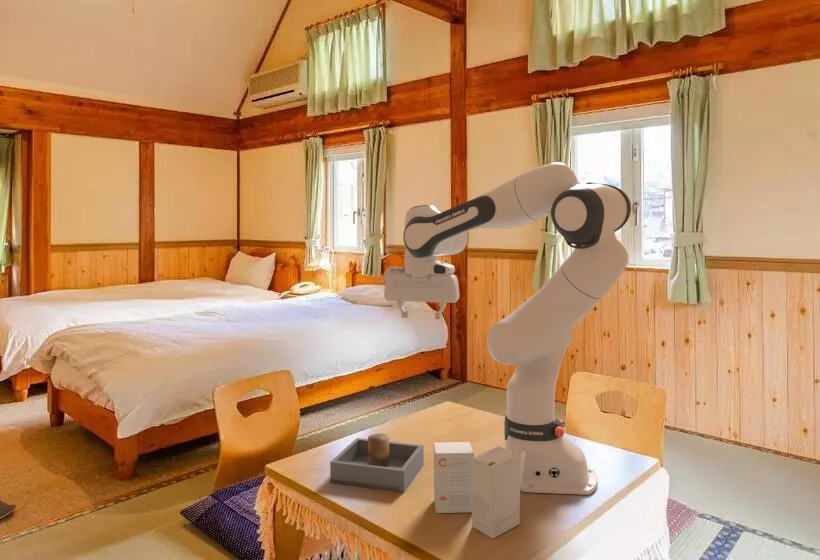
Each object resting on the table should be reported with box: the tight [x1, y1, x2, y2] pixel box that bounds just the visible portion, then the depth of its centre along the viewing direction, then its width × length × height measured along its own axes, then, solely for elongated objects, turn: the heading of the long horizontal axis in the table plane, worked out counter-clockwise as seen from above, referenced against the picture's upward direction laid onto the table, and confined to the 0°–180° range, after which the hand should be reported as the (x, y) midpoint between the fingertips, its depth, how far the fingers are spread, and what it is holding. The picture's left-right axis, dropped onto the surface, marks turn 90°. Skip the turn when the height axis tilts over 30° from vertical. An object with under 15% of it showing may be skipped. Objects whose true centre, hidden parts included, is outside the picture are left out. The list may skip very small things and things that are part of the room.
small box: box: [433, 441, 475, 514], centre depth 122 cm, size 8×6×13 cm
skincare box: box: [471, 446, 521, 539], centre depth 114 cm, size 8×6×15 cm
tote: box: [329, 437, 425, 494], centre depth 139 cm, size 18×16×5 cm
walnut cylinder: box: [367, 433, 390, 467], centre depth 139 cm, size 5×5×8 cm
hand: (421, 318), depth 155 cm, fingers open, 8 cm apart
